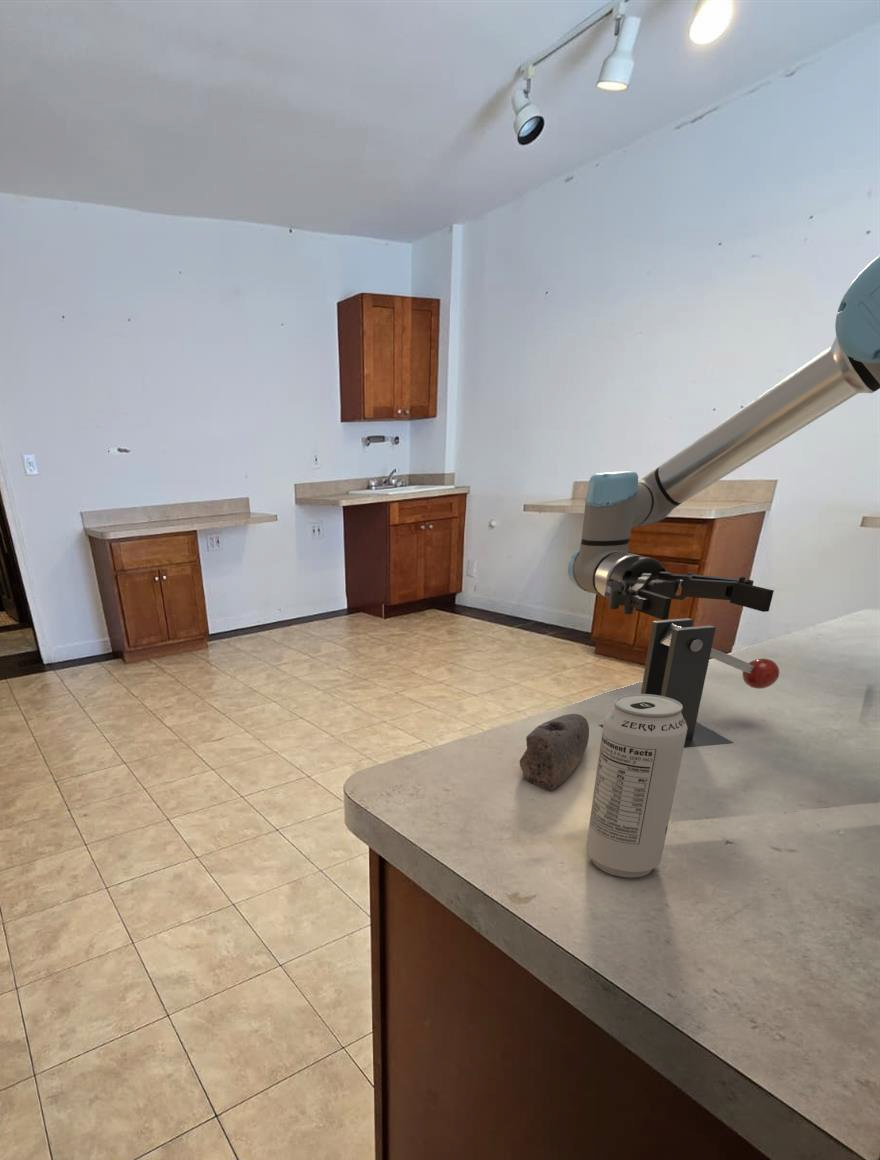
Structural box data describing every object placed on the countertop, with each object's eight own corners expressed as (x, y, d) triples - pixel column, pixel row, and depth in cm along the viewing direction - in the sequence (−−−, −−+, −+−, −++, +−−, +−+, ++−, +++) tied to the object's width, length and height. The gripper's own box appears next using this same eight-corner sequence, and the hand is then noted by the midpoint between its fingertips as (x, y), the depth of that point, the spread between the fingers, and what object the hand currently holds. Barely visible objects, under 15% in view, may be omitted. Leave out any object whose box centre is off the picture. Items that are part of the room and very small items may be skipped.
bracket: (685, 725, 84) (708, 612, 77) (732, 752, 75) (762, 628, 69) (596, 733, 83) (612, 620, 77) (633, 761, 75) (654, 637, 69)
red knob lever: (752, 687, 79) (770, 660, 78) (773, 696, 76) (793, 669, 74) (653, 645, 76) (670, 617, 75) (671, 653, 73) (689, 623, 71)
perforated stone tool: (558, 747, 80) (564, 694, 77) (602, 756, 77) (610, 702, 74) (506, 793, 70) (511, 735, 67) (554, 806, 67) (561, 745, 64)
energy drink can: (675, 872, 55) (710, 709, 49) (616, 887, 54) (645, 721, 47) (625, 838, 60) (650, 687, 54) (570, 851, 59) (590, 698, 53)
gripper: (701, 597, 104) (802, 626, 85) (551, 609, 103) (619, 641, 84) (711, 549, 101) (818, 568, 81) (556, 561, 100) (628, 582, 80)
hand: (718, 605), depth 83 cm, fingers open, 13 cm apart
